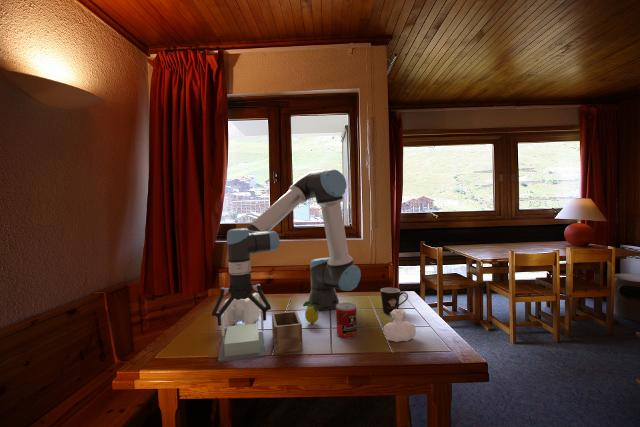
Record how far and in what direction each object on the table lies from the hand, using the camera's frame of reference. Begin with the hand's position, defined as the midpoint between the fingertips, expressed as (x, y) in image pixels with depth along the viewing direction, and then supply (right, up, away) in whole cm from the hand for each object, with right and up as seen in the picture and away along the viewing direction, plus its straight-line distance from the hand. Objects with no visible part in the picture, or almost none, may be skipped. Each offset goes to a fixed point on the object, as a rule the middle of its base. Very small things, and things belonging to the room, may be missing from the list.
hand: (243, 331), depth 118 cm
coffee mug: (+60, -2, +30) cm, 68 cm away
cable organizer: (-5, -5, +22) cm, 23 cm away
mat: (0, -5, 0) cm, 5 cm away
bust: (+56, -4, +3) cm, 56 cm away
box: (+15, -5, +1) cm, 16 cm away
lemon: (+24, -4, +19) cm, 31 cm away
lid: (0, -4, 0) cm, 4 cm away
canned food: (+37, -4, +8) cm, 39 cm away
